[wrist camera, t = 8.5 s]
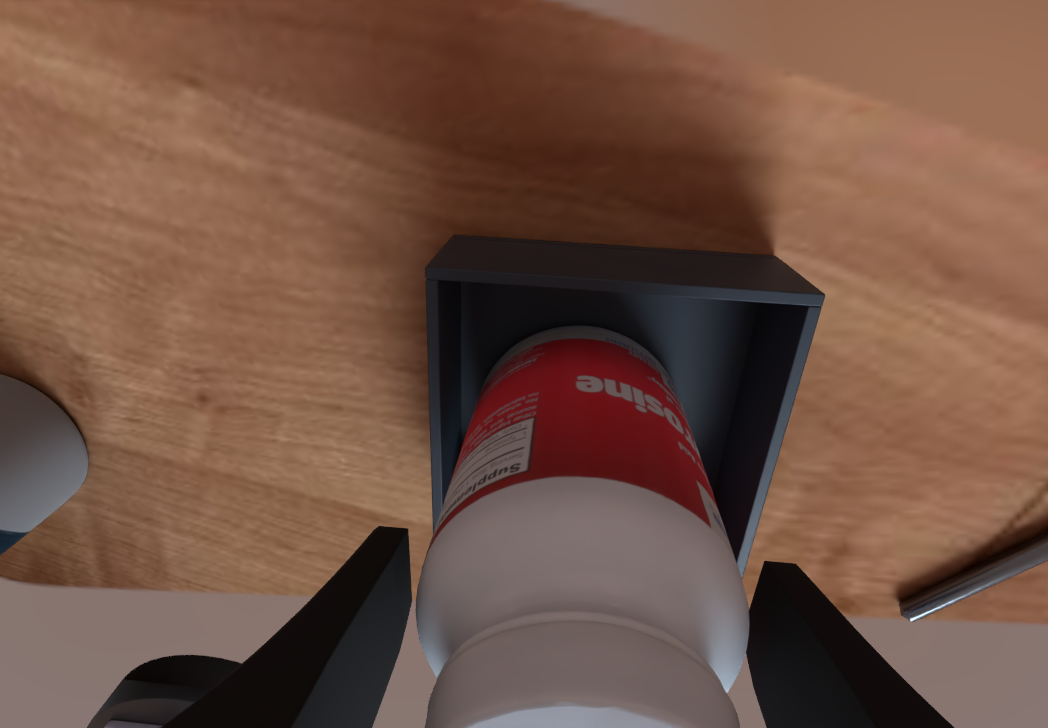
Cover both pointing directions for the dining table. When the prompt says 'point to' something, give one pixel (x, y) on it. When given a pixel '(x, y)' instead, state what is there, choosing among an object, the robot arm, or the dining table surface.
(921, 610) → the rod
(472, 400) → the box
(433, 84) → the dining table surface
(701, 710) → the pill bottle
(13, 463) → the black capped bottle
